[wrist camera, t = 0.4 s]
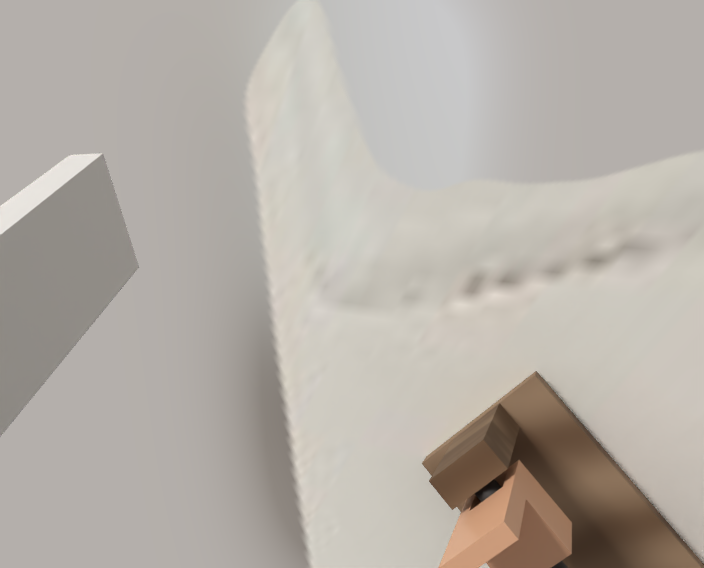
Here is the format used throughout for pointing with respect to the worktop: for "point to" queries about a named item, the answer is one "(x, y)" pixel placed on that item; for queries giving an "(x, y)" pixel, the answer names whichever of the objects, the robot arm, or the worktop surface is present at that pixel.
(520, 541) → the tan wooden l-shaped block
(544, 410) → the brown rod stand
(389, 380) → the worktop surface
